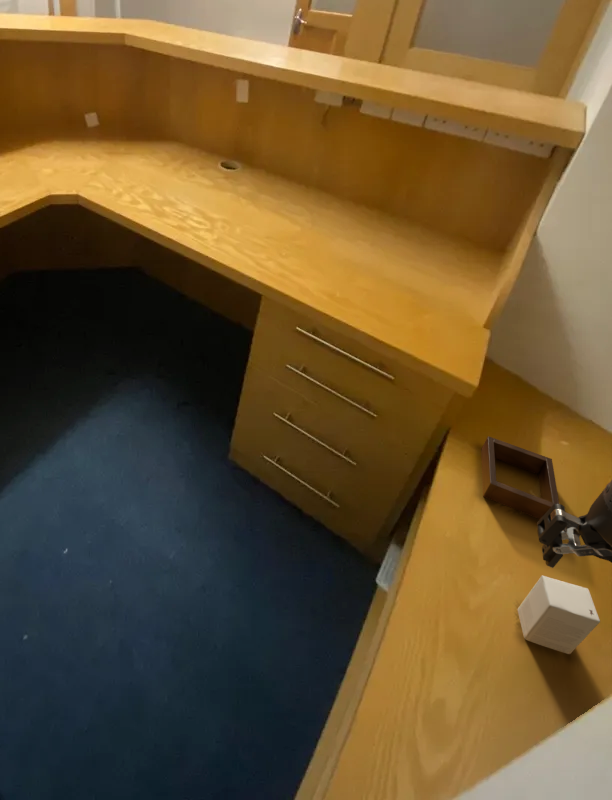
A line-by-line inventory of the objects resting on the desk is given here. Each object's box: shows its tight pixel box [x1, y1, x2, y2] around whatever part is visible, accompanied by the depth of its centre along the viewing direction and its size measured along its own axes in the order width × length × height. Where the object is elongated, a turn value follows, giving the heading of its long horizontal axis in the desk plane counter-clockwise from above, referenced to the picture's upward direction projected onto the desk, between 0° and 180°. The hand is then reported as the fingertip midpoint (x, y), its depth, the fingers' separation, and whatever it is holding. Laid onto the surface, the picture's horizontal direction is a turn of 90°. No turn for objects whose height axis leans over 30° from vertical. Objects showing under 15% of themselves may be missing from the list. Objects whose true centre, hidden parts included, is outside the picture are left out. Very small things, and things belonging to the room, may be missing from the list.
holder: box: [480, 435, 560, 520], centre depth 95 cm, size 11×11×6 cm
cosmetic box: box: [517, 575, 601, 655], centre depth 74 cm, size 6×4×12 cm
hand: (585, 576), depth 68 cm, fingers open, 8 cm apart
